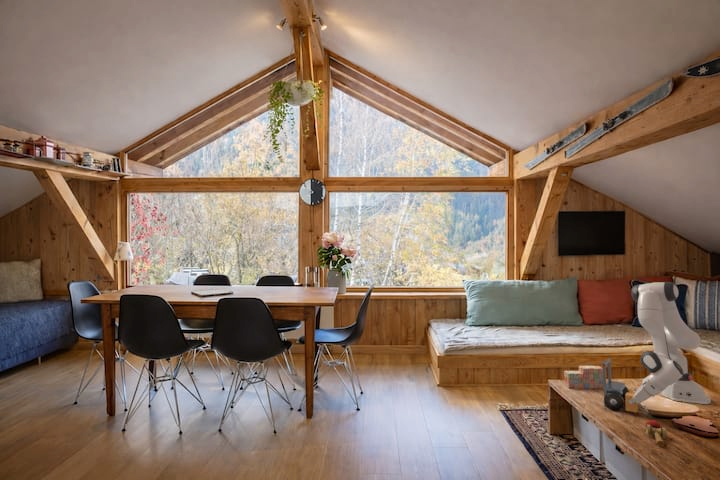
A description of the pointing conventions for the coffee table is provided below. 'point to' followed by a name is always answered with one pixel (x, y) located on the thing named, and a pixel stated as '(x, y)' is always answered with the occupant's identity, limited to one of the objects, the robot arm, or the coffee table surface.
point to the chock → (629, 406)
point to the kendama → (656, 432)
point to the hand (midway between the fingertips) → (630, 401)
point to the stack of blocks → (584, 377)
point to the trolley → (613, 390)
